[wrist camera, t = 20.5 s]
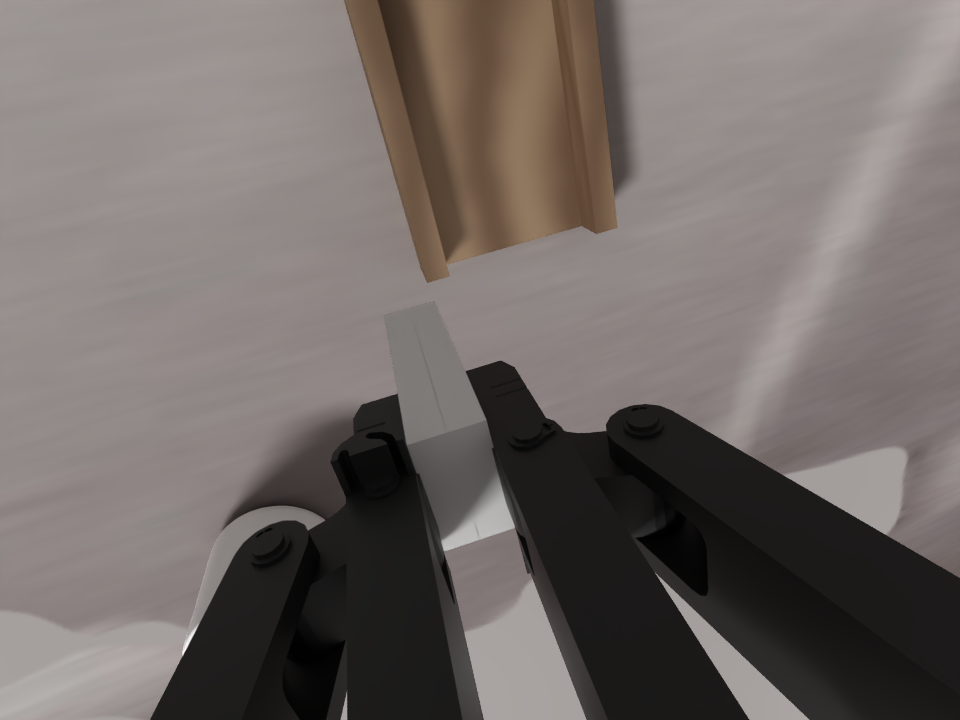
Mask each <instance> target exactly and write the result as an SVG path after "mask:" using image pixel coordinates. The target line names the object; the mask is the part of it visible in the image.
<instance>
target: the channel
mask: <svg viewBox="0 0 960 720" xmlns="http://www.w3.org/2000/svg"><path fill="white" fill-rule="evenodd" d="M344 1H345V5H346V8H347V12H348V15H349V19H350V22H351V26H352V29H353V33H354V36H355V40H356V43H357V47H358V50H359V54H360V57H361V61H362V64H363V68H364V71H365V75H366V78H367V82H368V85H369V89H370V92H371V96H372V99H373V103H374V106H375V110H376V113H377V117H378V120H379V124H380V127H381V131H382V134H383V138H384V141H385V145H386V148H387V152H388V155H389V159H390V162H391V166H392V169H393V173H394V176H395V180H396V183H397V187H398V190H399V194H400V197H401V201H402V204H403V208H404V211H405V215H406V218H407V222H408V225H409V229H410V232H411V236H412V239H413V243H414V246H415V250H416V253H417V257H418V260H419V264H420V267H421V270H422V272H423V274H424V277H425V279H426V281H427V283H428V282H432V281H435V280H439V279H442V278H445V277H449V276H450V275H449V271H448V268H447V264H451V263H454V262H458V261H461V260H464V259H468V258H471V257H475V256H478V255H482V254H485V253H489V252H492V251H496V250H499V249H503V248H506V247H510V246H513V245H517V244H520V243H524V242H527V241H531V240H534V239H538V238H541V237H545V236H548V235H551V234H555V233H558V232H562V231H565V230H569V229H572V228H576V227H579V226H583V227H585V228H587V229H588V230H590V231H592V232H594V233H596V234H597V233H601V232H604V231H608V230H611V229H615V228H617V218H616V209H615V199H614V190H613V180H612V170H611V161H610V151H609V141H608V132H607V122H606V113H605V103H604V93H603V84H602V74H601V64H600V55H599V45H598V36H597V26H596V16H595V7H594V0H344Z"/></svg>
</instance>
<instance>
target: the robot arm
mask: <svg viewBox="0 0 960 720" xmlns="http://www.w3.org/2000/svg"><path fill="white" fill-rule="evenodd" d="M384 319H385V324H386V330H387V336H388V341H389V347H390V353H391V358H392V364H393V370H394V376H395V381H396V387H397V393H398V394H395V395H392V396H389V397H386V398H382V399H379V400H376V401H373V402H369V403H366V404H363V405H361V407H360V408H359V410H358V412H357V413H356V415H355V417H354V419H353V423H354V435H353V436H352V437H350V438H349V439H347V440H346V441H344V442H343V443H342V444H341V445H340V446H339V447H338V448H337V449H336V450H335V452H334V453H333V456H332V459H331V464H332V467H333V469H334V471H335V473H336V476H337V478H338V480H339V482H340V485H341V487H342V489H343V491H344V494H345V496H346V504H345V506H344V507H342V508H341V509H340V510H339V511H338V512H337V513H336V514H334V515H333V516H331V517H330V518H328V519H327V520H325V521H323V522H322V523H320V524H318V525H316V526H315V527H313V528H311V529H309V530H307V528H306V526H305V524H302V523H300V522H298V521H296V520H283V521H280V522H277V523H273V524H270V525H268V526H266V527H264V528H262V529H261V530H259V531H257V532H255V533H254V534H253V535H252V536H251V537H249V538H248V539H247V540H246V541H245V542H244V543H243V544H242V545H241V546H240V548H239V549H238V551H237V552H236V553H235V555H234V557H233V559H232V561H231V563H230V565H229V567H228V569H227V570H226V572H225V574H224V576H223V578H222V580H221V582H220V584H219V586H218V588H217V590H216V592H215V594H214V596H213V598H212V600H211V602H210V604H209V606H208V608H207V610H206V612H205V613H204V615H203V617H202V619H201V621H200V623H199V625H198V627H197V629H196V631H195V633H194V635H193V637H192V639H191V641H190V643H189V645H188V647H187V649H186V651H185V653H184V655H183V656H182V658H181V660H180V662H179V664H178V666H177V668H176V670H175V672H174V674H173V676H172V678H171V680H170V682H169V684H168V686H167V688H166V690H165V692H164V694H163V696H162V698H161V699H160V701H159V703H158V705H157V707H156V709H155V711H154V713H153V715H152V717H151V719H150V720H340V719H341V715H342V710H343V706H344V701H345V697H346V692H347V708H348V709H347V718H348V719H347V720H484V719H483V714H482V710H481V706H480V701H479V697H478V692H477V688H476V683H475V679H474V674H473V670H472V665H471V661H470V656H469V652H468V648H467V643H466V639H465V634H464V630H463V625H462V621H461V616H460V612H459V607H458V603H457V599H456V594H455V590H454V585H453V581H452V576H451V572H450V569H449V566H448V563H447V560H446V558H445V555H444V551H447V550H450V549H453V548H456V547H459V546H462V545H465V544H468V543H471V542H474V541H477V540H480V539H483V538H486V537H489V536H492V535H495V534H498V533H501V532H504V531H507V530H509V529H512V528H516V532H517V535H518V539H519V543H520V547H521V551H522V554H523V558H524V562H525V566H526V570H527V574H528V573H531V576H532V578H533V581H534V583H535V586H536V589H537V591H538V594H539V597H540V599H541V602H542V604H543V607H544V609H545V612H546V615H547V617H548V620H549V623H550V625H551V628H552V630H553V633H554V635H555V638H556V641H557V643H558V646H559V649H560V651H561V654H562V657H563V659H564V661H565V664H566V667H567V670H568V672H569V675H570V677H571V680H572V682H573V685H574V688H575V690H576V693H577V696H578V698H579V701H580V703H581V706H582V709H583V711H584V714H585V717H586V719H587V720H749V719H748V717H747V716H746V714H745V713H744V711H743V709H742V708H741V706H740V705H739V703H738V702H737V700H736V698H735V697H734V695H733V694H732V692H731V691H730V689H729V688H728V686H727V684H726V683H725V681H724V680H723V678H722V677H721V675H720V673H719V672H718V670H717V669H716V667H715V666H714V664H713V663H712V661H711V659H710V658H709V656H708V655H707V653H706V652H705V650H704V649H703V647H702V645H701V644H700V642H699V641H698V640H697V638H696V636H695V635H694V633H693V631H692V630H691V628H690V627H689V625H688V624H687V622H686V621H685V619H684V617H683V616H682V614H681V613H680V611H679V610H678V608H677V607H676V605H675V604H674V602H673V600H672V599H671V597H670V596H669V594H668V593H667V591H666V590H665V588H664V586H663V585H662V583H661V582H660V580H659V579H658V577H657V575H658V576H659V577H661V578H662V579H663V580H664V581H665V582H666V583H667V584H668V585H669V586H670V587H671V588H672V589H673V590H674V591H675V592H676V593H677V594H678V595H679V596H680V597H681V598H682V599H684V600H685V601H686V602H687V603H688V604H689V605H690V606H691V607H692V608H693V609H694V610H695V611H696V612H697V613H698V614H699V615H700V616H701V617H703V619H705V620H706V621H707V622H708V623H709V624H710V625H711V626H712V627H713V628H714V629H715V630H716V631H717V632H718V633H719V634H720V635H721V636H722V637H723V638H724V639H725V640H727V641H728V642H729V643H730V644H731V645H732V646H733V647H734V648H735V649H736V650H737V651H738V652H739V653H740V654H741V655H742V656H743V657H745V658H746V660H748V661H749V662H750V663H751V664H752V665H753V666H754V667H755V668H756V669H757V670H758V671H759V672H760V673H761V674H762V675H763V676H765V678H766V679H767V680H769V681H770V682H771V683H772V684H773V685H774V686H775V687H776V688H777V689H778V690H779V691H780V692H781V693H782V694H783V695H784V696H785V697H786V698H787V699H788V700H789V701H791V702H792V703H793V704H794V705H795V706H796V707H797V708H798V709H799V710H800V711H801V712H802V713H803V714H804V715H805V716H806V717H807V718H808V719H809V720H960V578H959V577H957V576H955V575H954V574H952V573H950V572H948V571H947V570H945V569H943V568H942V567H940V566H938V565H936V564H935V563H933V562H931V561H930V560H928V559H926V558H924V557H923V556H921V555H919V554H918V553H916V552H914V551H912V550H911V549H909V548H907V547H906V546H904V545H902V544H900V543H899V542H897V541H895V540H893V539H892V538H890V537H888V536H887V535H885V534H883V533H881V532H880V531H878V530H876V529H875V528H873V527H871V526H869V525H868V524H866V523H864V522H863V521H860V520H859V519H857V518H856V517H854V516H852V515H850V514H849V513H847V512H845V511H844V510H842V509H840V508H838V507H837V506H835V505H833V504H832V503H830V502H828V501H826V500H825V499H823V498H821V497H820V496H818V495H816V494H814V493H813V492H811V491H809V490H808V489H806V488H804V487H802V486H801V485H799V484H797V483H796V482H794V481H792V480H790V479H788V478H787V477H785V476H783V475H782V474H780V473H778V472H777V471H775V470H773V469H771V468H770V467H768V466H766V465H765V464H763V463H761V462H759V461H758V460H756V459H754V458H753V457H751V456H749V455H747V454H746V453H744V452H742V451H741V450H739V449H737V448H735V447H734V446H732V445H730V444H728V443H727V442H725V441H723V440H722V439H720V438H718V437H716V436H715V435H713V434H711V433H710V432H708V431H706V430H704V429H703V428H701V427H699V426H698V425H696V424H694V423H692V422H691V421H689V420H687V419H686V418H684V417H682V416H680V415H679V414H677V413H675V412H673V411H672V410H669V409H667V408H664V407H662V406H657V405H649V404H643V405H633V406H629V407H627V408H624V409H621V410H619V411H617V412H616V413H615V414H613V415H612V416H611V417H610V418H609V420H608V422H607V424H606V429H607V431H603V432H593V433H572V432H566V431H563V429H562V428H561V426H559V425H558V424H557V423H556V422H555V421H553V420H550V419H547V418H546V417H545V416H544V414H543V412H542V411H541V409H540V408H539V406H538V404H537V403H536V401H535V400H534V398H533V396H532V395H531V393H530V391H529V390H528V389H527V387H526V385H525V383H524V382H523V380H522V379H521V377H520V375H519V374H518V372H517V370H516V369H515V367H513V366H511V365H509V364H507V363H505V362H503V361H498V362H494V363H491V364H488V365H485V366H481V367H478V368H475V369H472V370H468V371H465V369H464V367H463V365H462V363H461V360H460V358H459V356H458V353H457V351H456V349H455V346H454V344H453V342H452V339H451V337H450V335H449V333H448V330H447V328H446V326H445V323H444V321H443V319H442V316H441V314H440V312H439V309H438V307H437V305H436V303H435V301H432V302H428V303H425V304H421V305H418V306H415V307H411V308H408V309H404V310H401V311H397V312H394V313H391V314H387V315H384ZM514 525H515V527H514ZM443 549H444V551H443ZM655 573H656V574H657V575H656V574H655Z"/></svg>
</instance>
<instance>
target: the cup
mask: <svg viewBox="0 0 960 720" xmlns="http://www.w3.org/2000/svg"><path fill="white" fill-rule="evenodd" d="M283 520H296V521H298V522H300V523H302V524H305V526H306V528H307V530H309V529H311V528H313V527H315V526H316V525H318V524H320V523H322V522H323V521H325V520H324V519H323V518H322V517H320V516H319V515H317V514H315V513H313V512H311V511H308V510H306V509H302V508H298V507H292V506H270V507H264V508H259V509H256V510H253V511H250V512H248V513H246V514H244V515H242V516H240V517H238V518H237V519H235V520H234V521H233V522H231V523H230V524H229V525H228V526H227V527H226V528H225V529H224V530H223V531H222V532H221V533H220V535H219V536H218V538H217V539H216V541H215V543H214V545H213V548H212V550H211V554H210V557H209V561H208V564H207V567H206V571H205V574H204V578H203V581H202V585H201V588H200V592H199V595H198V598H197V602H196V605H195V609H194V612H193V615H192V619H191V622H190V626H189V629H188V633H187V636H186V639H185V643H184V646H183V652H182V656H183V655H184V653H185V651H186V649H187V647H188V645H189V643H190V641H191V639H192V637H193V635H194V633H195V631H196V629H197V627H198V625H199V623H200V621H201V619H202V617H203V615H204V613H205V612H206V610H207V608H208V606H209V604H210V602H211V600H212V598H213V596H214V594H215V592H216V590H217V588H218V586H219V584H220V582H221V580H222V578H223V576H224V574H225V572H226V570H227V569H228V567H229V565H230V563H231V561H232V559H233V557H234V555H235V553H236V552H237V551H238V549H239V548H240V546H241V545H242V544H243V543H244V542H245V541H246V540H247V539H248V538H249V537H251V536H252V535H253V534H254V533H255V532H257V531H259V530H261V529H262V528H264V527H266V526H268V525H270V524H273V523H277V522H280V521H283Z"/></svg>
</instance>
